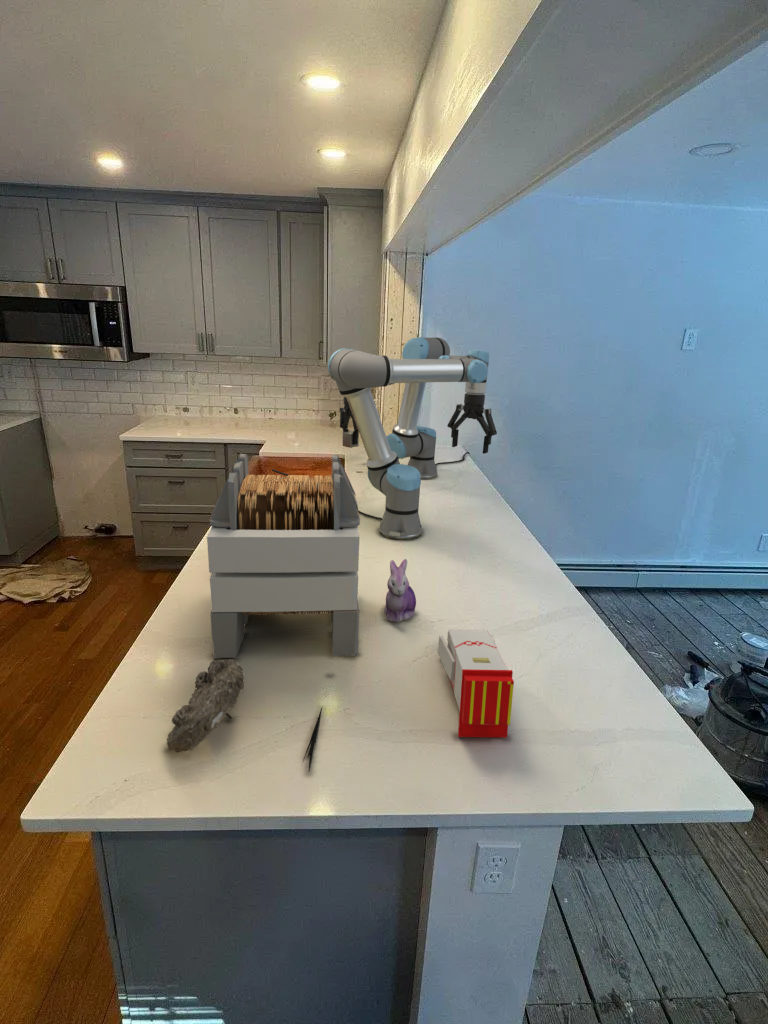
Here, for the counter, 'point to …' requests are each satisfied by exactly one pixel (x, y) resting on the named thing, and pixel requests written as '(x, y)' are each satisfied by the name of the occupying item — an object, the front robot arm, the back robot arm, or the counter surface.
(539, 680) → the counter surface
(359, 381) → the front robot arm
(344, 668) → the counter surface
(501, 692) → the toy
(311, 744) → the feather
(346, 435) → the metal block
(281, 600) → the record crate stand
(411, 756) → the counter surface
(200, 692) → the fossil
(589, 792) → the counter surface
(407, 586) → the figurine
